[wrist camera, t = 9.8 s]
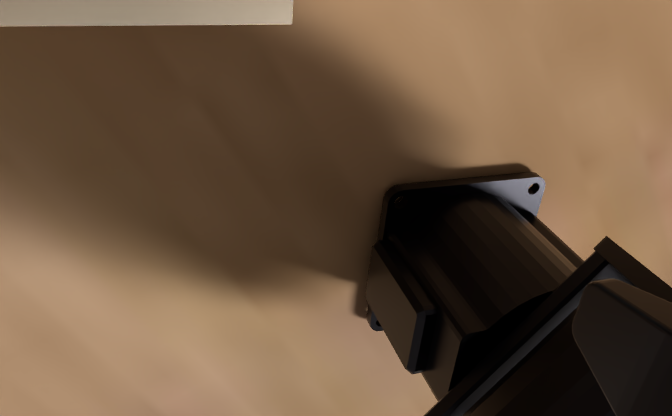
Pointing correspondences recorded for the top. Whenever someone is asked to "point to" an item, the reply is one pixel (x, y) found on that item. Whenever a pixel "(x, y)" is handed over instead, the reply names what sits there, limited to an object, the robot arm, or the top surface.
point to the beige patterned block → (144, 12)
